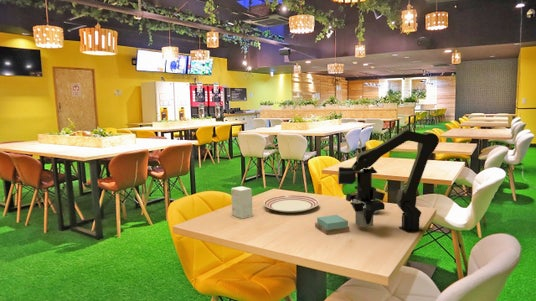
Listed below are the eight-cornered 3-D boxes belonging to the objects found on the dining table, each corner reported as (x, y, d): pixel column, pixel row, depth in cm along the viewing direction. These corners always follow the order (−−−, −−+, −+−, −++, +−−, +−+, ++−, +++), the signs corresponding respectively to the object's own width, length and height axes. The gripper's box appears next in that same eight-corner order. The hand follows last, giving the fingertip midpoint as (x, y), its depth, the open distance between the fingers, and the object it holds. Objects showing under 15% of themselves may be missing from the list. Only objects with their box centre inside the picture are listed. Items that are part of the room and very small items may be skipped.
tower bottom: (349, 232, 151) (349, 226, 150) (326, 236, 148) (326, 230, 147) (336, 225, 160) (336, 219, 160) (315, 228, 157) (315, 222, 157)
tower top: (348, 227, 150) (347, 220, 150) (327, 230, 147) (327, 223, 147) (336, 220, 159) (336, 214, 158) (317, 223, 156) (317, 217, 156)
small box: (253, 216, 175) (252, 188, 174) (241, 219, 171) (240, 190, 170) (242, 212, 181) (241, 185, 180) (231, 215, 177) (230, 187, 176)
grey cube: (373, 225, 151) (373, 213, 151) (362, 227, 150) (362, 215, 149) (366, 222, 156) (366, 210, 155) (355, 223, 154) (355, 211, 154)
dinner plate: (317, 217, 172) (317, 209, 171) (258, 215, 177) (257, 208, 177) (321, 201, 198) (321, 195, 198) (269, 200, 204) (269, 194, 203)
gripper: (396, 186, 145) (396, 226, 147) (367, 178, 162) (367, 213, 164) (371, 189, 141) (371, 230, 143) (345, 180, 159) (345, 216, 160)
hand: (364, 222), depth 153 cm, fingers closed on grey cube, 5 cm apart
